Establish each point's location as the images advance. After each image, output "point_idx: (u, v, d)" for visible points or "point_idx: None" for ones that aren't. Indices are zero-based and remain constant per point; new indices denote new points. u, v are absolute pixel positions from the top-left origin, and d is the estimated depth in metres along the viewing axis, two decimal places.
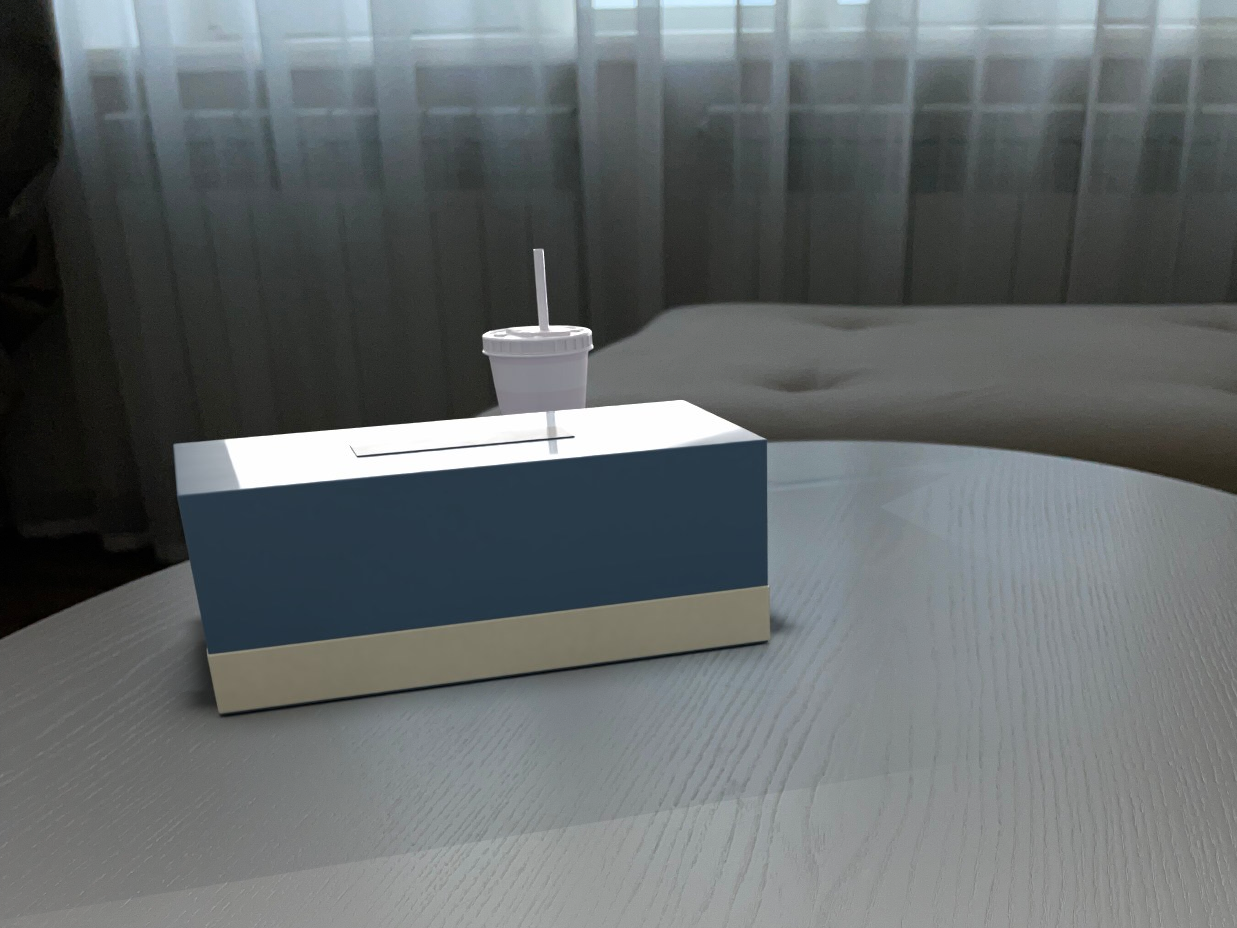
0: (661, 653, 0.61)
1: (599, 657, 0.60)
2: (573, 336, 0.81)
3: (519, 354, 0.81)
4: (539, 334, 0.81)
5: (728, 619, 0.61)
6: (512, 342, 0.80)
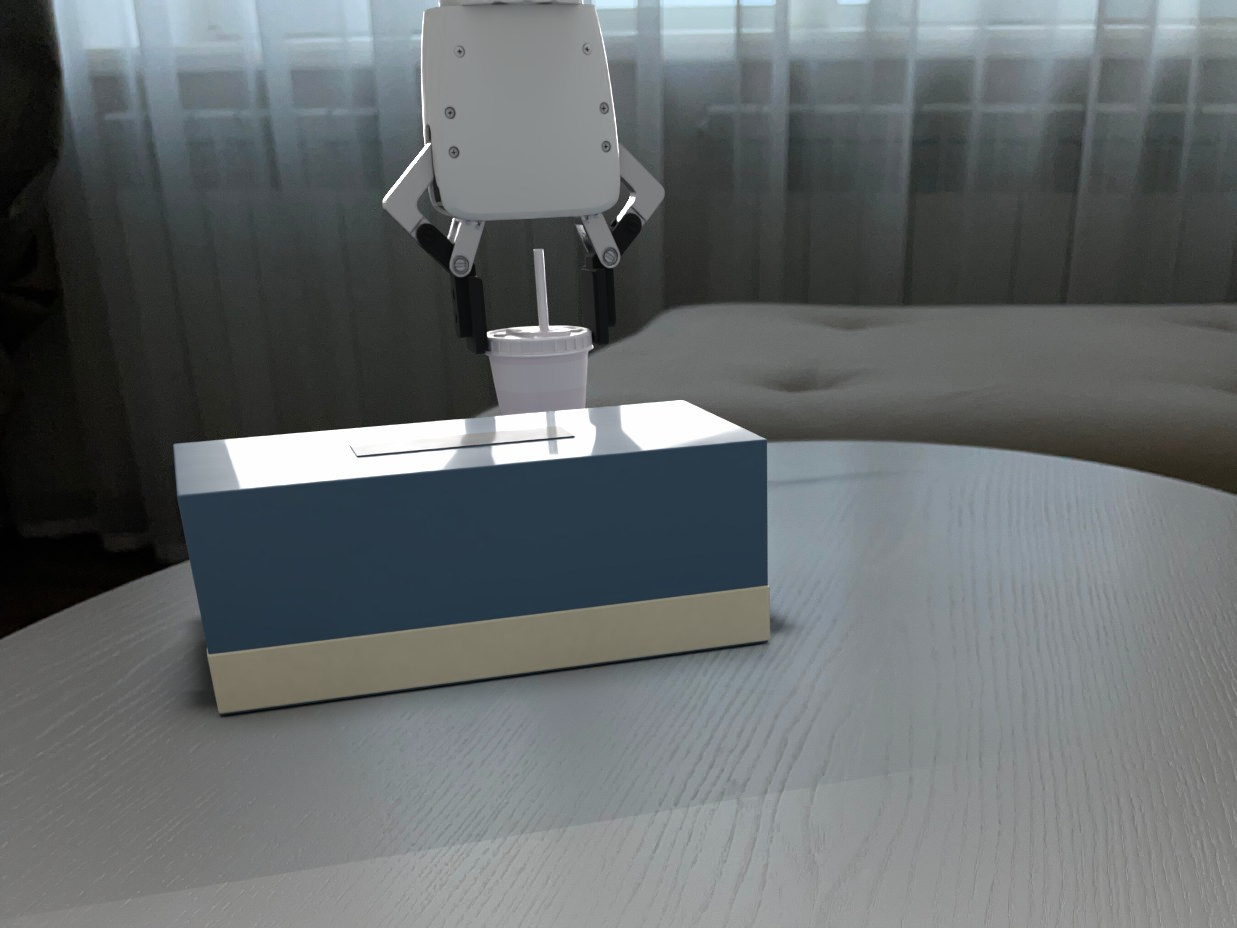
0: (661, 653, 0.61)
1: (599, 657, 0.60)
2: (573, 336, 0.81)
3: (519, 354, 0.81)
4: (539, 334, 0.81)
5: (728, 619, 0.61)
6: (512, 342, 0.80)
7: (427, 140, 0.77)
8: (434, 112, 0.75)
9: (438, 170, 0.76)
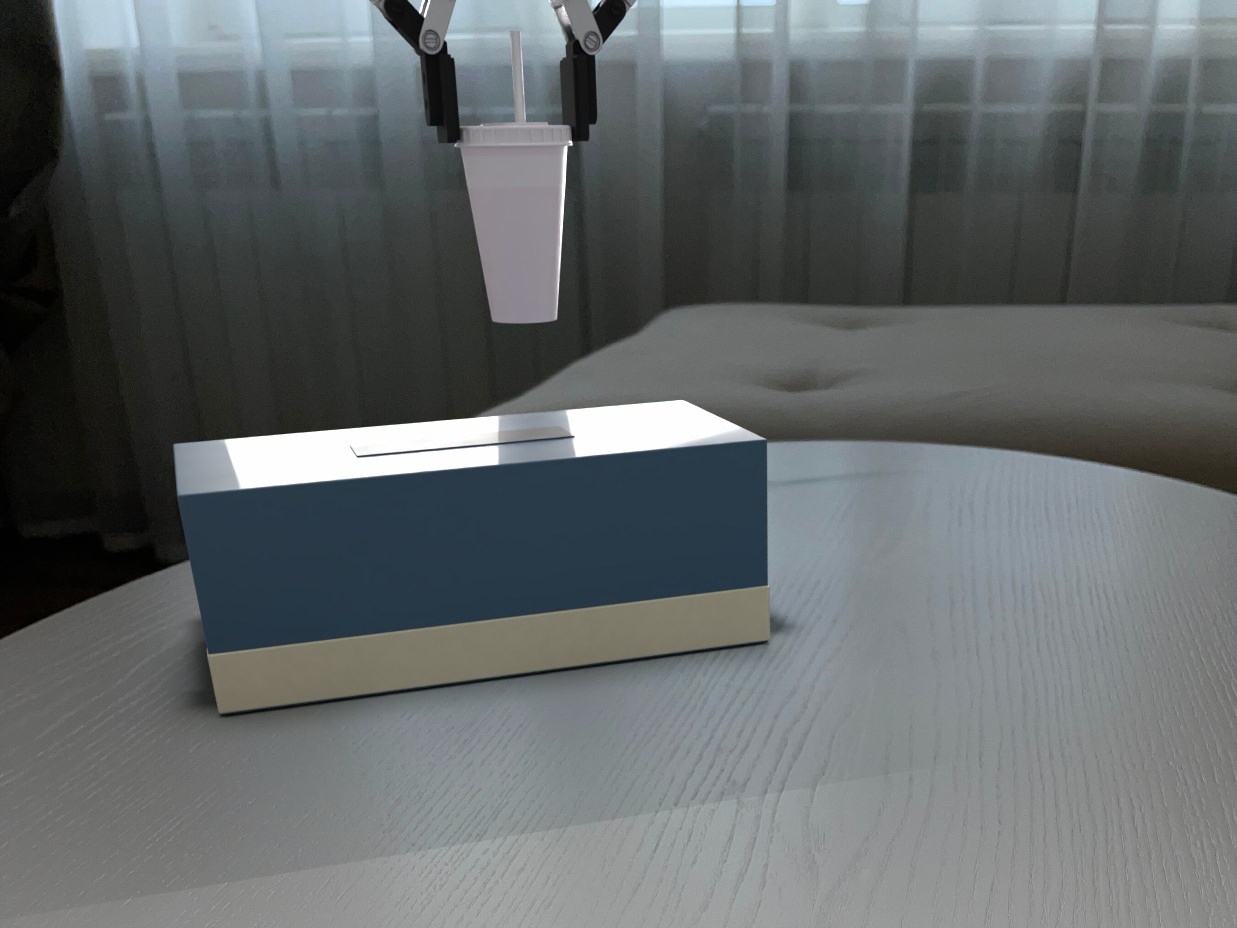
0: (661, 653, 0.61)
1: (599, 657, 0.60)
2: (551, 126, 0.76)
3: (493, 142, 0.75)
4: (515, 124, 0.76)
5: (728, 619, 0.61)
6: (485, 129, 0.75)
7: None
8: None
9: None
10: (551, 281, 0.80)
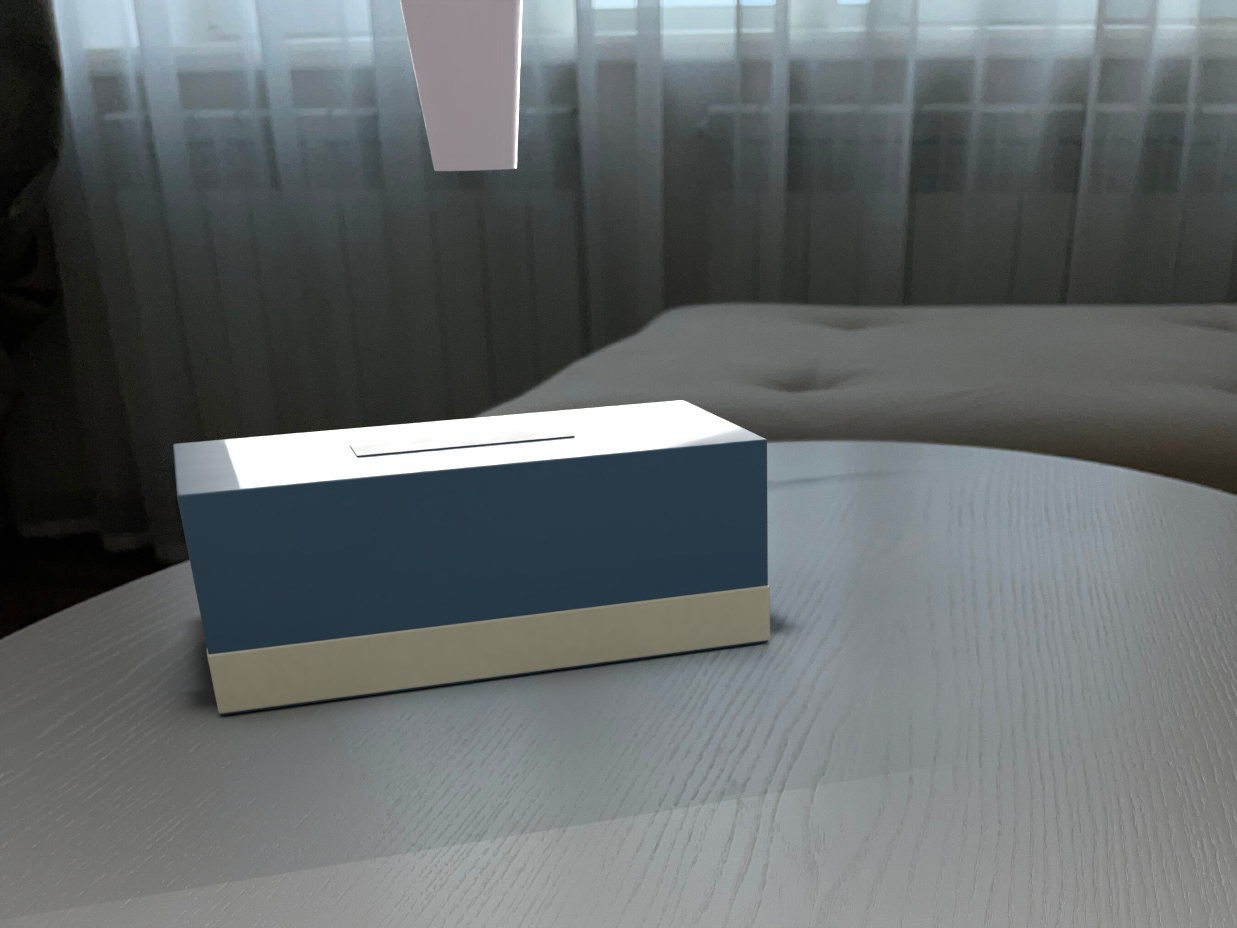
0: (661, 653, 0.61)
1: (599, 657, 0.60)
2: None
3: None
4: None
5: (728, 619, 0.61)
6: None
7: None
8: None
9: None
10: (507, 114, 0.63)
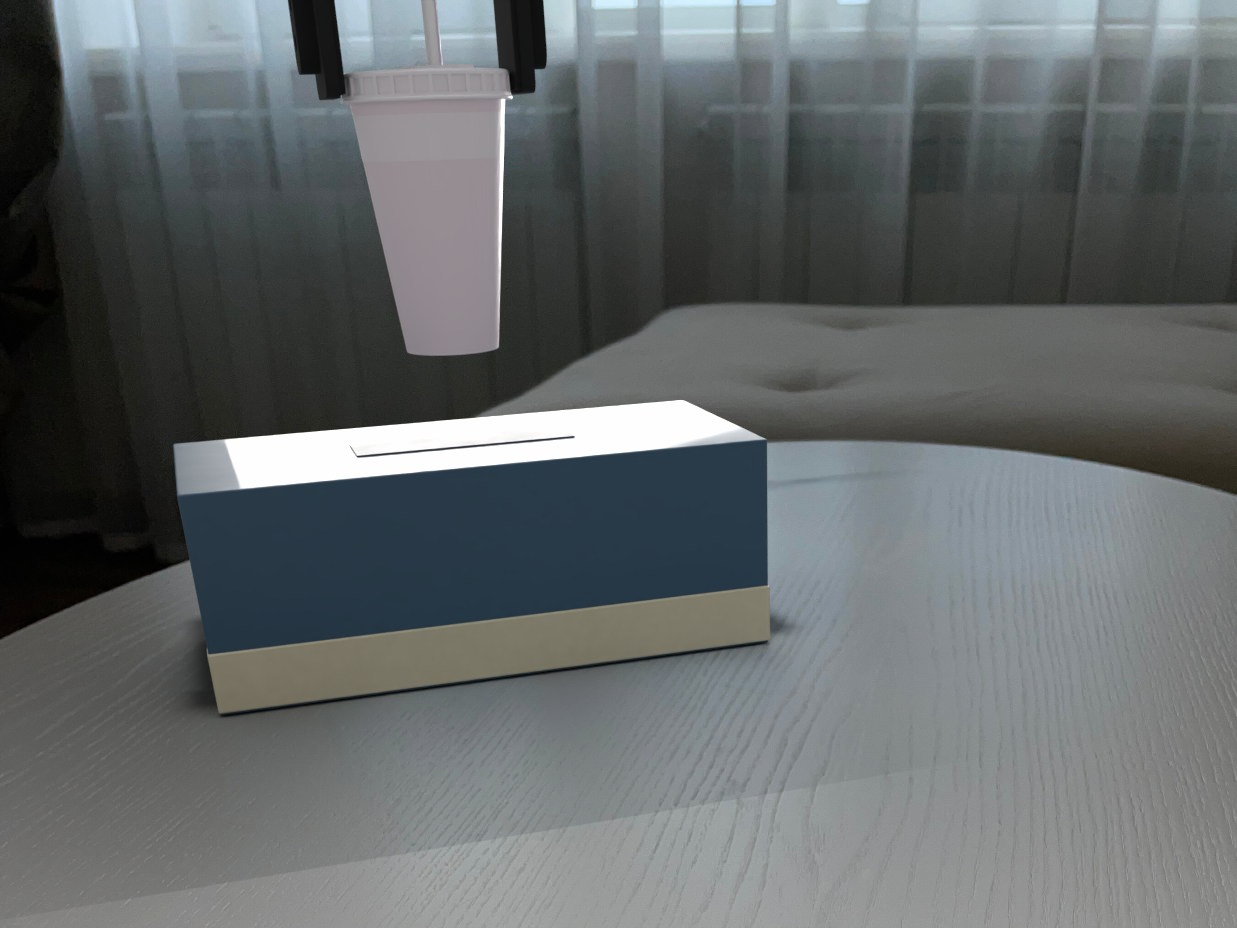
0: (661, 653, 0.61)
1: (599, 657, 0.60)
2: (478, 70, 0.52)
3: (392, 95, 0.51)
4: (425, 68, 0.52)
5: (728, 619, 0.61)
6: (381, 75, 0.51)
7: None
8: None
9: None
10: (487, 294, 0.56)
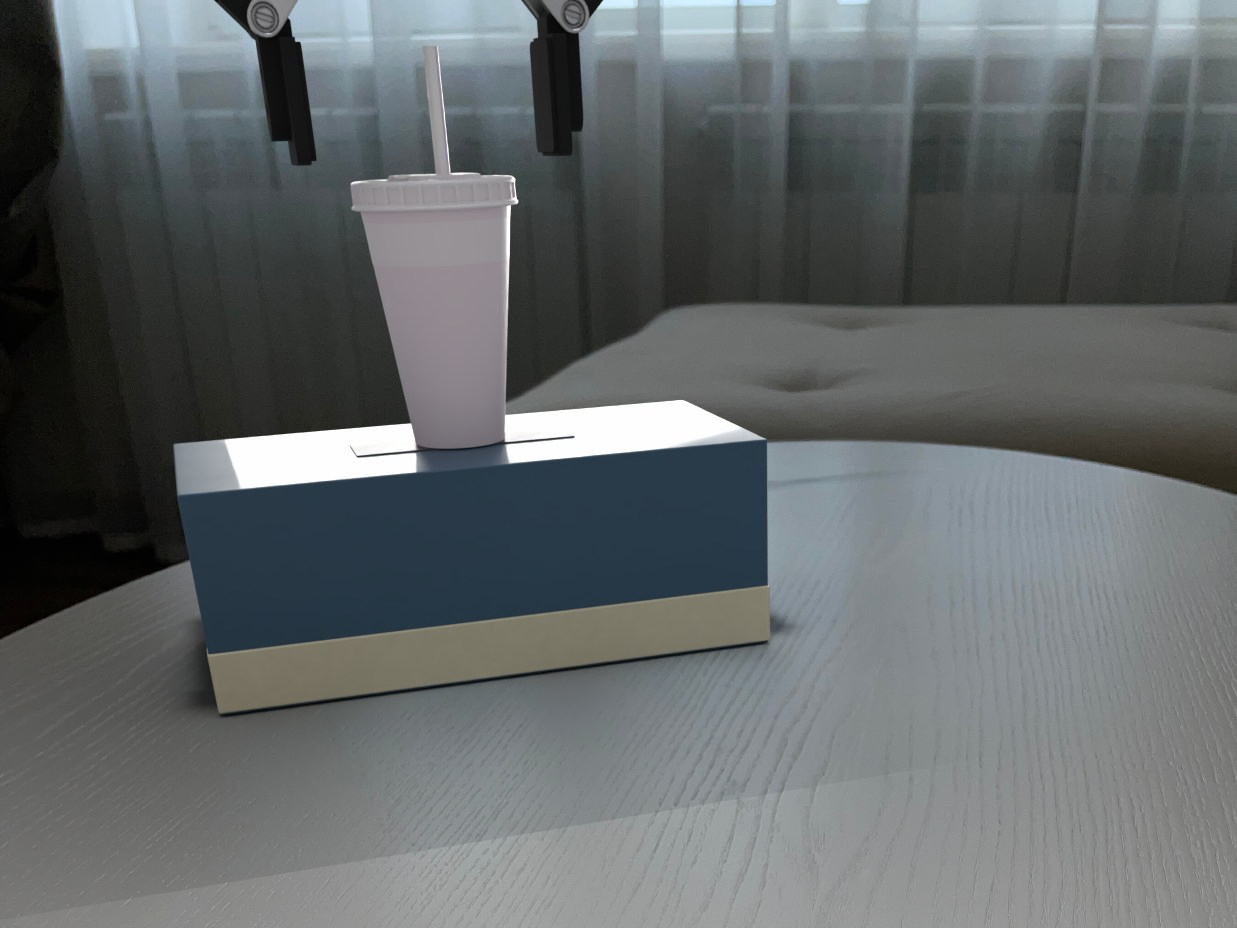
0: (661, 653, 0.61)
1: (599, 657, 0.60)
2: (485, 180, 0.54)
3: (402, 206, 0.53)
4: (434, 178, 0.54)
5: (728, 619, 0.61)
6: (391, 187, 0.53)
7: None
8: None
9: None
10: (493, 389, 0.58)
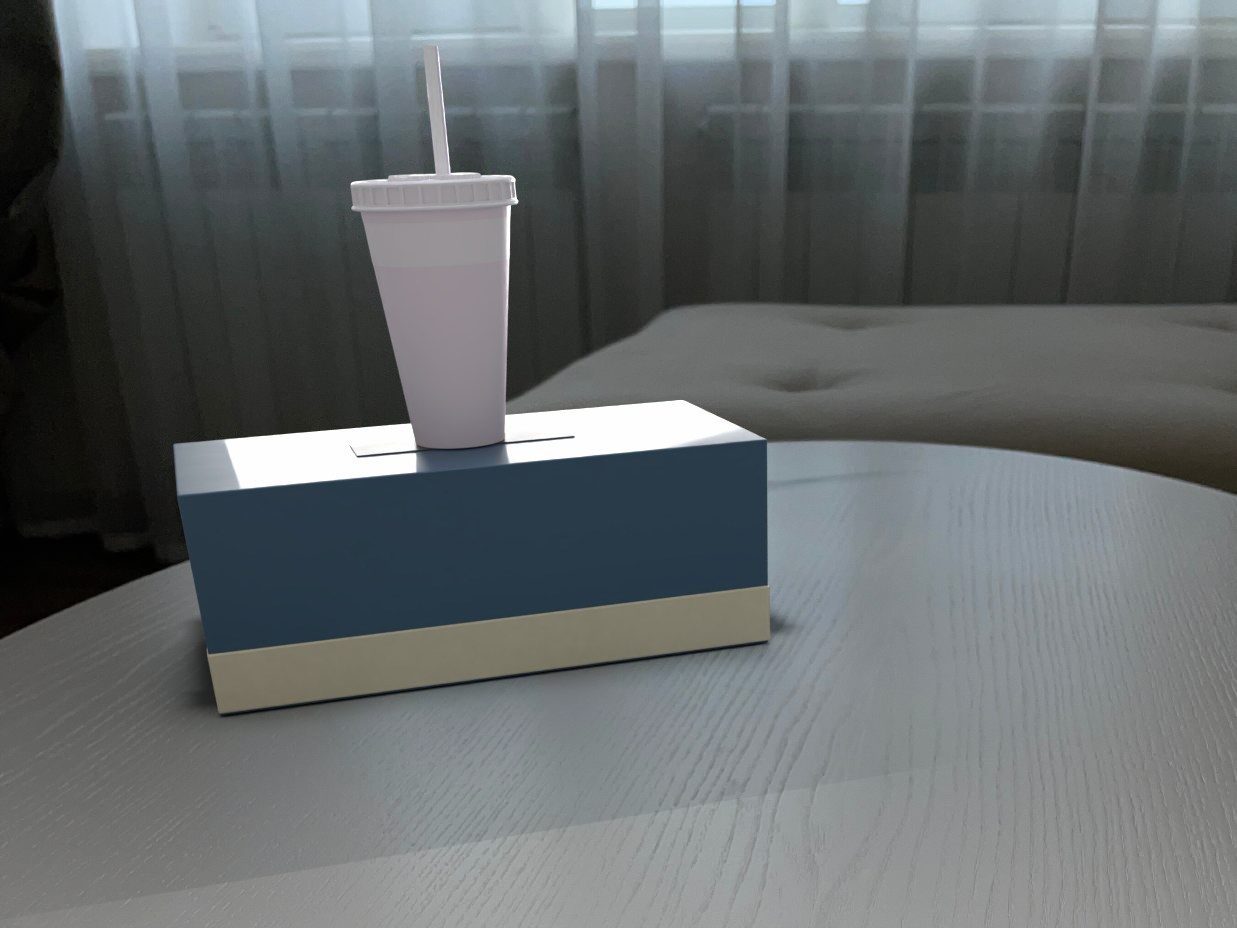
0: (661, 653, 0.61)
1: (599, 657, 0.60)
2: (485, 180, 0.54)
3: (402, 206, 0.53)
4: (434, 178, 0.54)
5: (728, 619, 0.61)
6: (391, 187, 0.53)
7: None
8: None
9: None
10: (493, 389, 0.58)
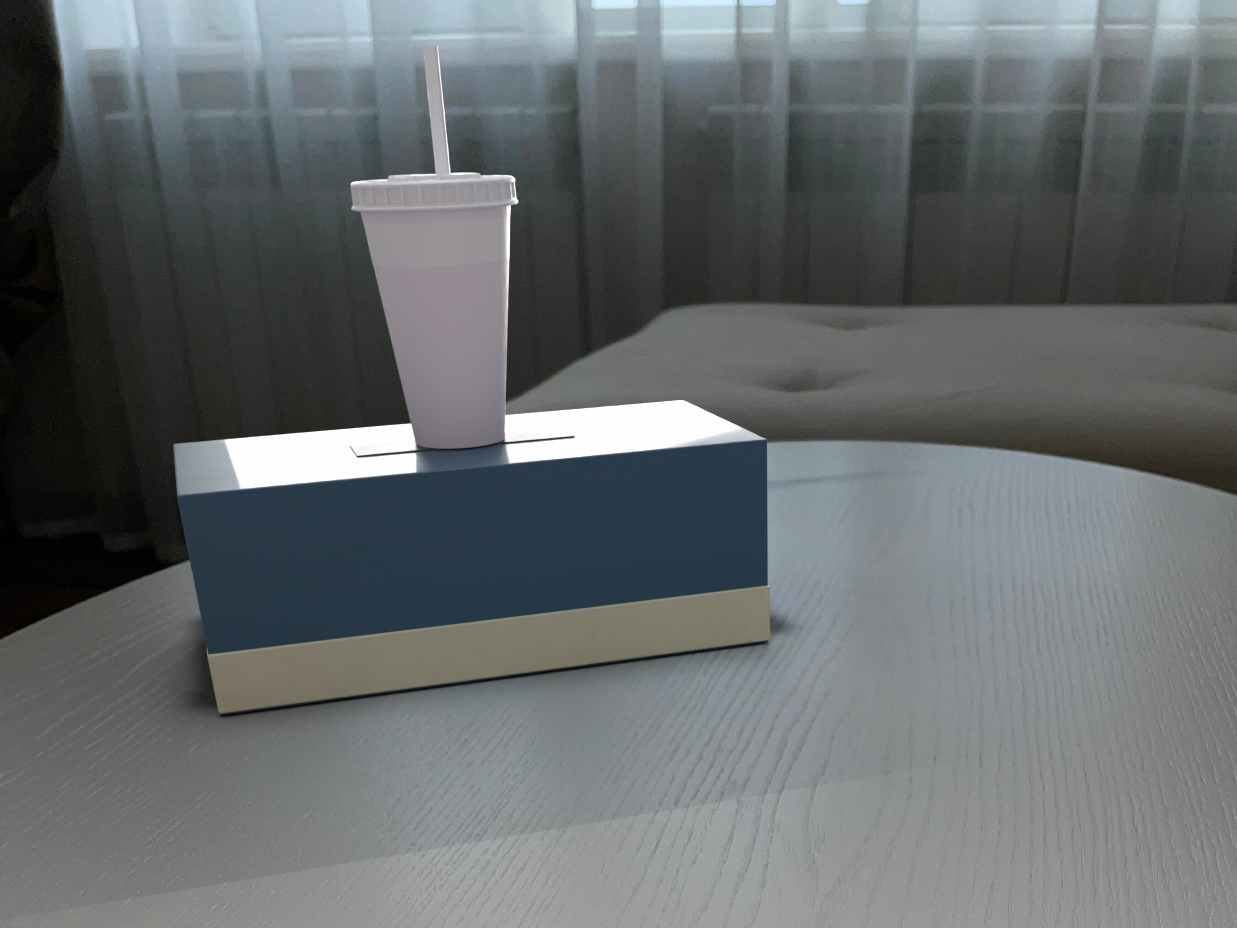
0: (661, 653, 0.61)
1: (599, 657, 0.60)
2: (485, 180, 0.54)
3: (402, 206, 0.53)
4: (434, 178, 0.54)
5: (728, 619, 0.61)
6: (391, 187, 0.53)
7: None
8: None
9: None
10: (493, 389, 0.58)
